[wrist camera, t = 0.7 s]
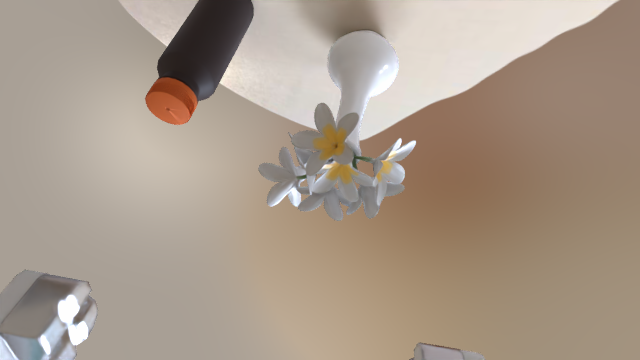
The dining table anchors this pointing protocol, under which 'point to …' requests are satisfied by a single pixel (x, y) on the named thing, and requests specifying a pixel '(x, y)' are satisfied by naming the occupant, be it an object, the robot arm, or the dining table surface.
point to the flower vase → (343, 137)
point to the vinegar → (198, 58)
